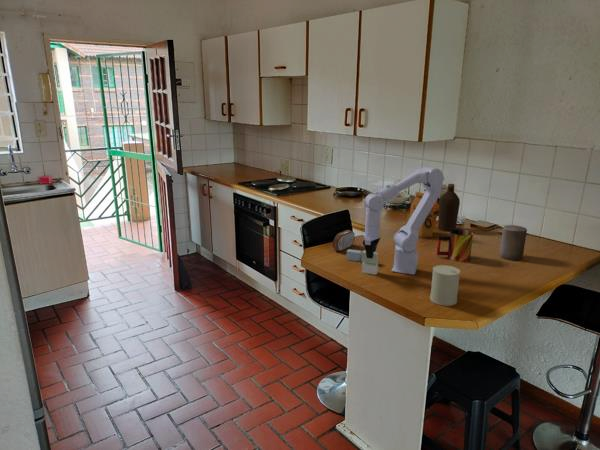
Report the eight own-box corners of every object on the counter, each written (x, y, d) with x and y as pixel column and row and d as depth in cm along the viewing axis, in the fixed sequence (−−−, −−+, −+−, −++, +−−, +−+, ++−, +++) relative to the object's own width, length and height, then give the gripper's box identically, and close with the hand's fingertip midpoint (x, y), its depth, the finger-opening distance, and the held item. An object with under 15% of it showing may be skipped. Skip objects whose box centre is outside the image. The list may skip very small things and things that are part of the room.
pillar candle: (527, 260, 194) (532, 227, 190) (507, 261, 192) (512, 228, 188) (513, 252, 203) (518, 221, 199) (494, 253, 201) (498, 222, 197)
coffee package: (419, 239, 221) (422, 196, 215) (406, 232, 233) (409, 191, 226) (435, 237, 224) (440, 195, 218) (422, 230, 236) (425, 190, 229)
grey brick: (377, 272, 179) (378, 263, 178) (376, 275, 176) (376, 265, 175) (363, 270, 181) (363, 261, 180) (361, 272, 178) (362, 263, 177)
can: (450, 308, 148) (454, 275, 145) (425, 300, 154) (428, 268, 151) (461, 299, 155) (464, 268, 152) (436, 292, 161) (439, 261, 158)
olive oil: (455, 233, 232) (460, 186, 225) (434, 230, 236) (439, 184, 229) (458, 227, 241) (463, 183, 234) (438, 225, 245) (442, 181, 238)
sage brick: (377, 261, 178) (378, 251, 177) (376, 263, 175) (376, 254, 174) (363, 259, 180) (363, 250, 179) (361, 261, 177) (361, 252, 176)
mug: (435, 257, 196) (437, 231, 193) (458, 252, 202) (461, 228, 199) (450, 264, 188) (453, 237, 185) (474, 259, 194) (478, 234, 190)
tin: (349, 244, 213) (350, 227, 211) (355, 245, 211) (356, 228, 209) (332, 252, 202) (332, 234, 199) (337, 253, 200) (338, 236, 198)
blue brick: (361, 259, 193) (361, 250, 192) (359, 261, 191) (359, 253, 189) (348, 257, 195) (348, 249, 194) (346, 259, 193) (346, 251, 192)
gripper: (366, 218, 181) (365, 249, 185) (358, 228, 168) (356, 261, 172) (383, 220, 178) (381, 251, 182) (376, 230, 165) (374, 263, 169)
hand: (370, 256), depth 177 cm, fingers open, 3 cm apart
